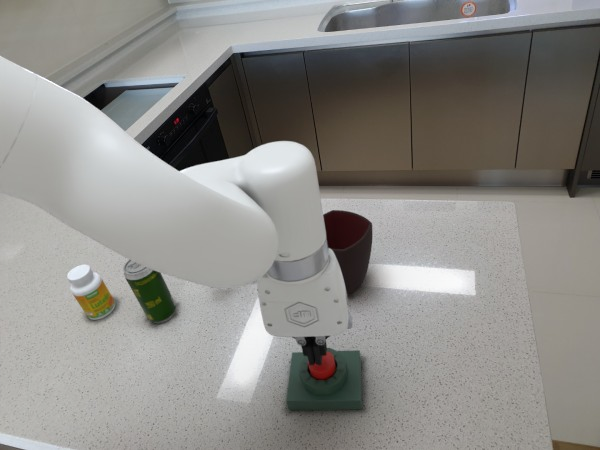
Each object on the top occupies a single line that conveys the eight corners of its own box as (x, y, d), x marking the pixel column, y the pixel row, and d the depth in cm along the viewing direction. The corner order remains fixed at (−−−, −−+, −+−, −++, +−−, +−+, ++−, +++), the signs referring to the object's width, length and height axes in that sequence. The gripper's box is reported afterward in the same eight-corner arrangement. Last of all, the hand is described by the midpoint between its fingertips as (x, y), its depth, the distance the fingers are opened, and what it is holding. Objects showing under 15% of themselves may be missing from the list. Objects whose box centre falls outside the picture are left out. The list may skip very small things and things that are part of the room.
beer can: (169, 297, 86) (145, 249, 79) (182, 312, 82) (159, 262, 75) (143, 314, 84) (116, 265, 76) (155, 329, 80) (128, 280, 73)
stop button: (336, 357, 65) (334, 349, 64) (335, 379, 62) (333, 371, 61) (310, 358, 65) (308, 350, 64) (308, 380, 62) (306, 372, 61)
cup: (353, 311, 76) (345, 256, 68) (290, 282, 84) (277, 230, 77) (385, 274, 81) (380, 220, 74) (322, 250, 89) (313, 199, 82)
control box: (361, 359, 68) (358, 342, 66) (361, 409, 62) (359, 392, 59) (294, 361, 70) (289, 344, 67) (289, 410, 63) (283, 393, 61)
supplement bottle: (99, 324, 83) (75, 286, 78) (81, 315, 86) (56, 278, 80) (122, 303, 87) (100, 265, 81) (103, 295, 90) (81, 258, 84)
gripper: (222, 278, 49) (257, 381, 60) (363, 271, 47) (373, 380, 57) (236, 235, 55) (266, 335, 66) (362, 227, 52) (371, 332, 63)
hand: (316, 356), depth 61 cm, fingers closed
